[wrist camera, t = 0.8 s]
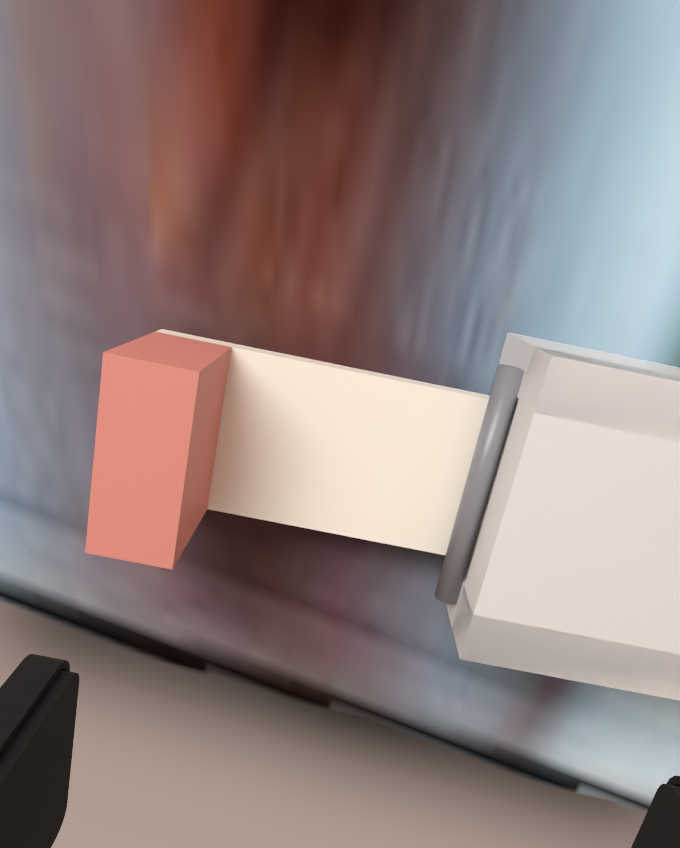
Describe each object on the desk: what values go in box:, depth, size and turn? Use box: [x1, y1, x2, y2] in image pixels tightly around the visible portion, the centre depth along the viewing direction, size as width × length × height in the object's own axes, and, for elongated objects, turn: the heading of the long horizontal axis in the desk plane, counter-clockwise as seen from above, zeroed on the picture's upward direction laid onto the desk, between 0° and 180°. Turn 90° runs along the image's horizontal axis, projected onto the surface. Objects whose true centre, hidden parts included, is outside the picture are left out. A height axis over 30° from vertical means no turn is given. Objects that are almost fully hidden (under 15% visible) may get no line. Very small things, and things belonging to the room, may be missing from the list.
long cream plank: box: [85, 329, 518, 569], centre depth 23 cm, size 26×7×6 cm, turn 79°
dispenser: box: [435, 332, 680, 701], centre depth 24 cm, size 15×12×6 cm
